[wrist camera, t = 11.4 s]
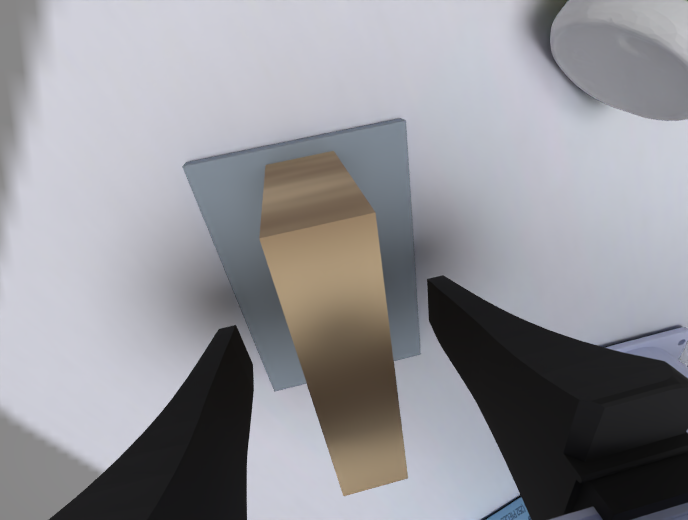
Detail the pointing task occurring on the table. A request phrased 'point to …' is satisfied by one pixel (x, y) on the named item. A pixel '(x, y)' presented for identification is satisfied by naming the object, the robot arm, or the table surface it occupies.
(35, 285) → the table surface
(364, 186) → the grey rectangular plate
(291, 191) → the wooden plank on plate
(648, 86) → the supplement bottle
